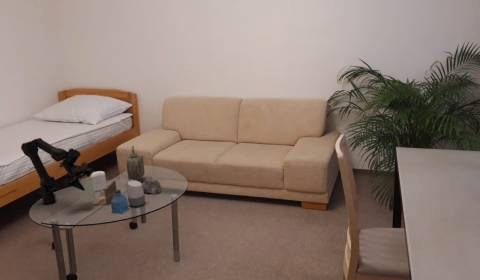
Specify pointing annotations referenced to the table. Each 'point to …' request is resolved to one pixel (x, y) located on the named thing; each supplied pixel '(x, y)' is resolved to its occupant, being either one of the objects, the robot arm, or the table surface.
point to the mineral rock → (151, 186)
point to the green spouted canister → (135, 166)
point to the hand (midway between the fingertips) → (88, 188)
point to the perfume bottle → (119, 202)
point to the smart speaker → (135, 193)
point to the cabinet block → (86, 189)
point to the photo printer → (99, 180)
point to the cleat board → (107, 195)
